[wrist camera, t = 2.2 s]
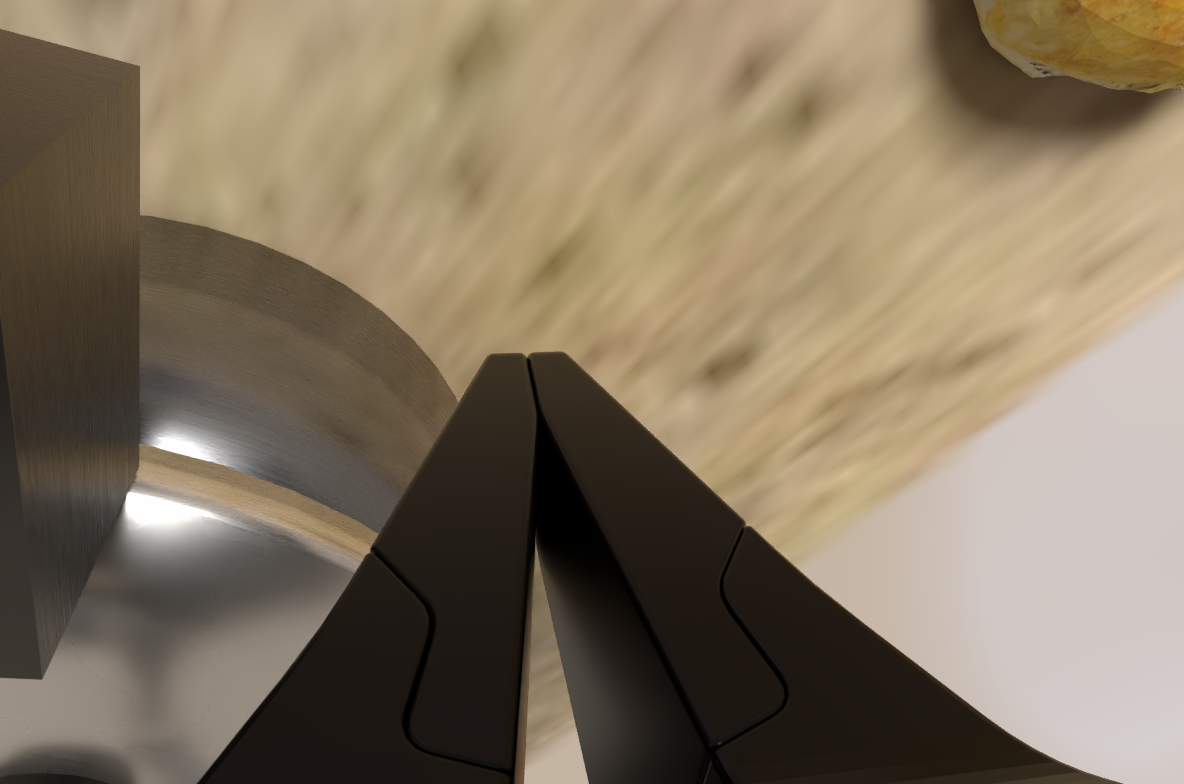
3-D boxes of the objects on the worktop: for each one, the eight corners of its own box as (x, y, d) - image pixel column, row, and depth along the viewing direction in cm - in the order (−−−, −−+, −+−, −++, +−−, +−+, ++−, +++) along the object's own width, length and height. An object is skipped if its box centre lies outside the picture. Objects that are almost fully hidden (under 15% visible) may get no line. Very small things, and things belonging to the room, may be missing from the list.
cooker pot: (549, 574, 24) (579, 795, 18) (104, 714, 25) (13, 963, 19) (149, -182, 12) (-91, -166, 6) (-698, 143, 13) (-1522, 392, 7)
